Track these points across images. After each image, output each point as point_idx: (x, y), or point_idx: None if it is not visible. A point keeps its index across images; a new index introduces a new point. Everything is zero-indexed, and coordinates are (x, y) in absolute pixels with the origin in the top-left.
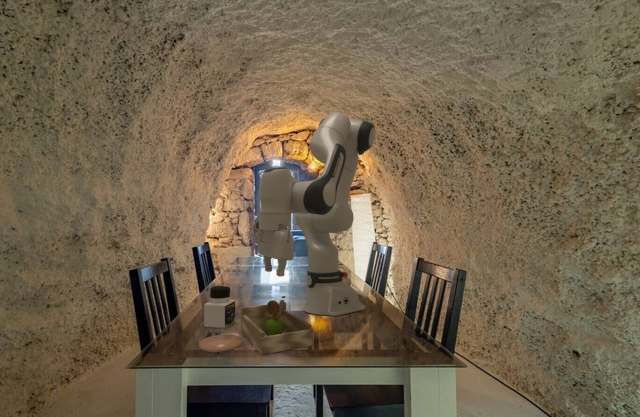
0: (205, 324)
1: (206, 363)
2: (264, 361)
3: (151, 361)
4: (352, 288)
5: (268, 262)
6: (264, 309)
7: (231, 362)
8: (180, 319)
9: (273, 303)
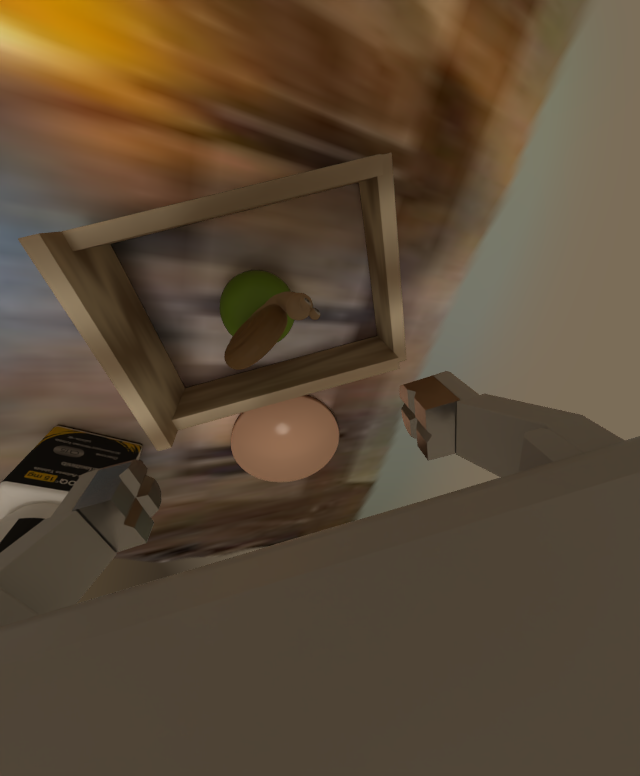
0: None
1: (389, 447)
2: (429, 339)
3: None
4: None
5: (60, 564)
6: (126, 355)
7: None
8: None
9: (272, 346)
